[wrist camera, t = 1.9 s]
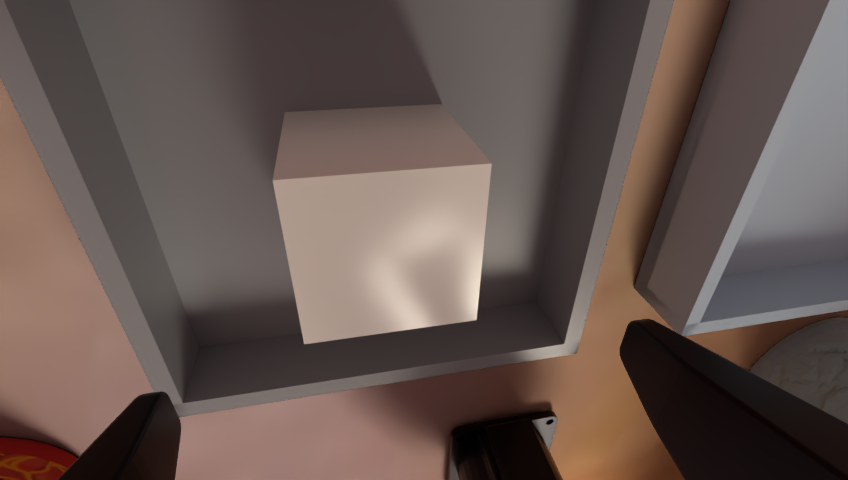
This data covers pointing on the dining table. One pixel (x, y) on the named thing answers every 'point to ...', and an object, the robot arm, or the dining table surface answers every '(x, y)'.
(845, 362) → the grey cylinder
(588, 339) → the dining table surface
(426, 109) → the smooth beige block
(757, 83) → the bin
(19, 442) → the canned food
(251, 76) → the bin
